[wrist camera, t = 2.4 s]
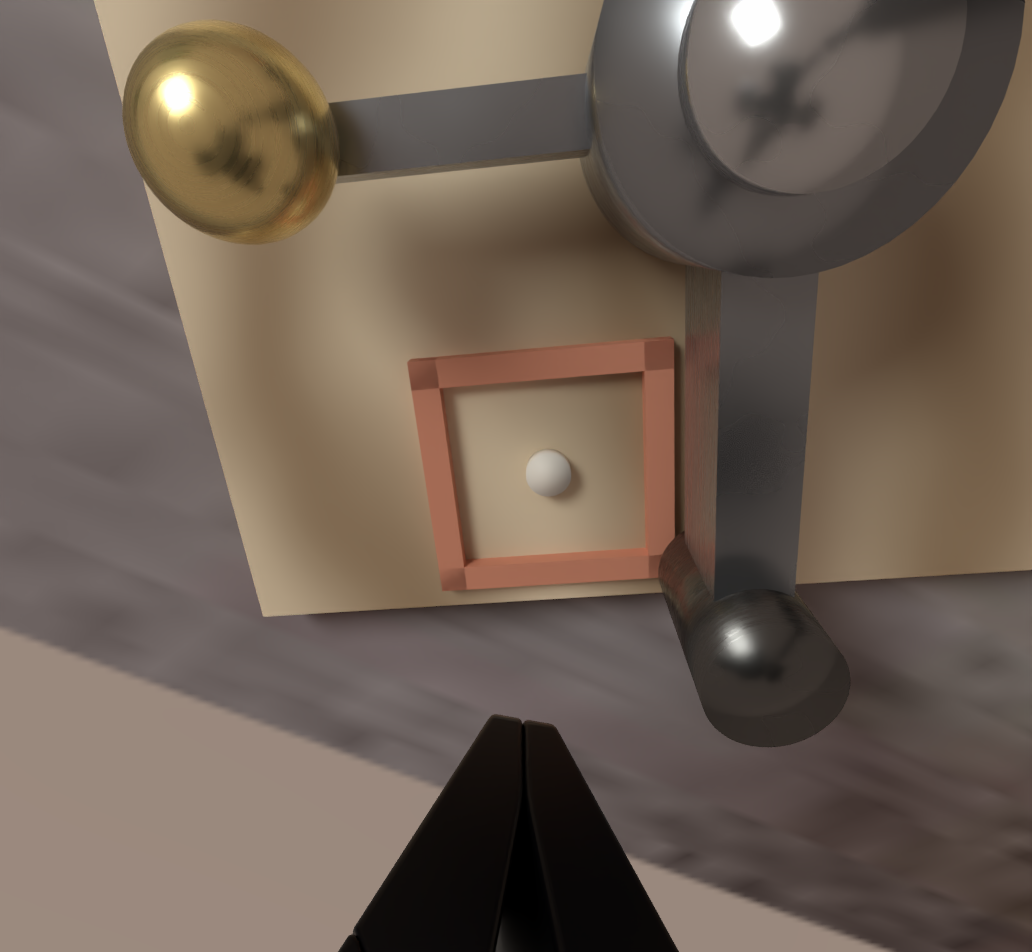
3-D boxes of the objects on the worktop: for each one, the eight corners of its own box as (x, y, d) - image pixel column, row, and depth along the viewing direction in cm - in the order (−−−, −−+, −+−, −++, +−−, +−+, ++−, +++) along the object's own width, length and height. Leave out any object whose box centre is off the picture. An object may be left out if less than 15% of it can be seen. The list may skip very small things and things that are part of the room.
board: (1439, -766, 9) (1574, -918, 7) (1096, 540, 16) (1139, 563, 14) (0, -496, 10) (-69, -591, 9) (281, 591, 17) (263, 616, 16)
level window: (670, 335, 13) (673, 339, 13) (671, 568, 15) (674, 577, 15) (411, 359, 13) (407, 362, 13) (445, 582, 15) (442, 591, 15)
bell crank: (943, -864, 7) (1491, -2359, 3) (814, 599, 15) (929, 749, 10) (45, -680, 8) (-493, -1685, 4) (341, 627, 15) (264, 778, 11)
